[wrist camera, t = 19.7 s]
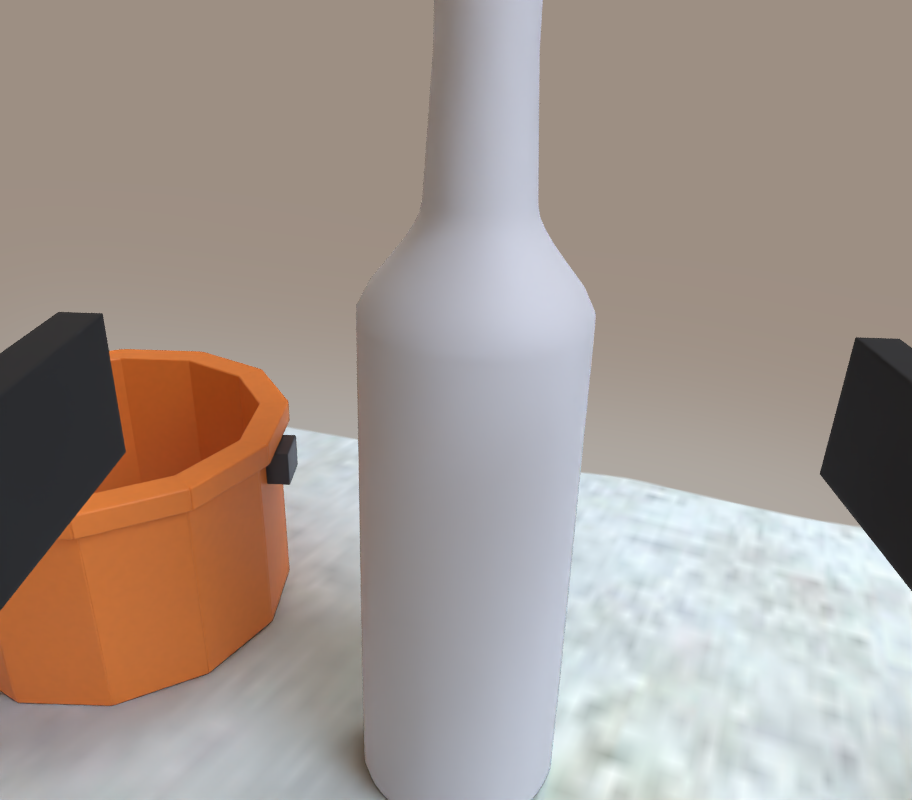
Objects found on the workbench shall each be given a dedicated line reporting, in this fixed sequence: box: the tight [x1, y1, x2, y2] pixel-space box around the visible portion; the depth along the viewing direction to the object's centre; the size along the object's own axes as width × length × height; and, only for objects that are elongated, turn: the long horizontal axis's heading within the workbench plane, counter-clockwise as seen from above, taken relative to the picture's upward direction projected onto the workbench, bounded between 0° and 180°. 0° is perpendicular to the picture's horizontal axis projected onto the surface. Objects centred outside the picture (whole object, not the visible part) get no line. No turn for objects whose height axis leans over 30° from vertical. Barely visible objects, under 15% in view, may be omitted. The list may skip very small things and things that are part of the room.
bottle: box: [356, 0, 596, 800], centre depth 22 cm, size 7×7×28 cm
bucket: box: [0, 349, 298, 706], centre depth 33 cm, size 15×14×8 cm
